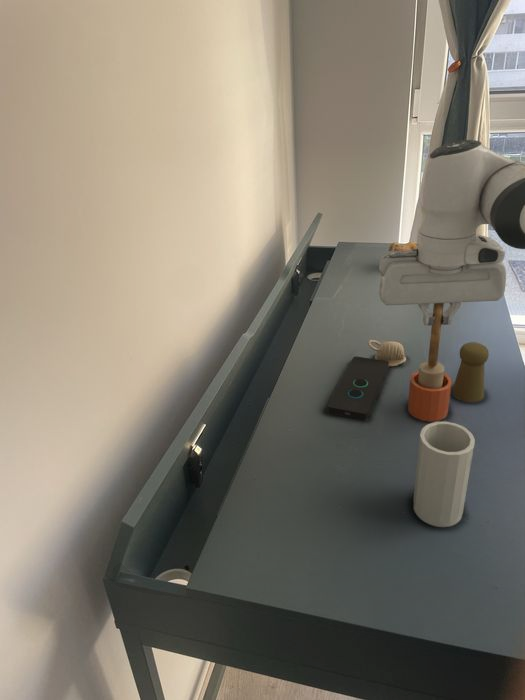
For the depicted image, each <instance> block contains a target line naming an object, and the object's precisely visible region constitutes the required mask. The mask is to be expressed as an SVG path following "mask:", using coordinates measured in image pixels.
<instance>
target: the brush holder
mask: <svg viewBox="0 0 525 700" xmlns="http://www.w3.org/2000/svg"><path fill="white" fill-rule="evenodd" d="M418 378H419V370H416V371H414V372H413V373H412V374H411V375H410V377H409V385H408V386H409V388H408V400H407V410H408V412H409V414H410V415H411V416H412V417H413V418H415V419H417V420H419V421H423V422H431V423H433V422H440V421H442V420H444V419H445V418H446V417H447V416H448V414H449V409H450V401H451V394H452V388H453V387H452V386H453V379H452V378H451V376H450V375H448V374H447V373H446V372H444V377H443V385H442V388H439V389H428V388H424V387H422V386H419V385H418Z"/></svg>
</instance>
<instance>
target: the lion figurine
mask: <svg viewBox="0 0 525 700" xmlns="http://www.w3.org/2000/svg"><path fill="white" fill-rule="evenodd" d="M413 249H417V243H416V242H414V241H411V242H407V243H405V244H403V245H402V244H401V243H399V242H398V241H395V242H392V243H391V244H390V245H389V246H388V253H389V252H390V251H395V250H397V251H404V250H413Z"/></svg>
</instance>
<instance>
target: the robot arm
mask: <svg viewBox="0 0 525 700" xmlns="http://www.w3.org/2000/svg"><path fill="white" fill-rule="evenodd" d="M424 167H425V168H424V171H423V178H422V183H421V190H420V191H421V192H420V210H421V218H420V222H419V225H418V229H417V242H416V245H417V249H413V250H404V251H397V250H395V251H390V252H389V251H388V253H385V254H384V255H382V257H381V258H380V260H379V267H378V269H379V274H380V275H381V278H380V282H379V290H378V295H379V298H380V301H381V302H382V303H383V304H384V305H385V306H406V305H407V306H408V305H418V307H419V309H420V311H421V313H422V314H423V318H422V322H423V325H424V327H425V326H432V325H434V322H433V321H434V315H433V312H428V311H427V310H428V309H429V308H430V305H432V304H434V303H444V304H449V306H448V307H447V309H446V310H445V311H443V315H442V323H441V326H444V325H445V326H447V325H452V321H453V317H454V315H455V314H456V313H457V312H458V311H459V309H460V308H461V303H476V302H477V303H478V302H497V301H499V300H500V299H502V298H503V297H504V295H505V293H506V285H507V269H506V266H505V265H504V263H503V261H504V259H505V256H506V251H505V249H504V248H503V247H502V246H501V244H500V243H498V242H497V241H496V240H494V239H493V238H491V237H489V236H485V235H481V234H478V233H477V229H478V227H479V226H481V225H490V226H491V227H492V229H493V230H494V232H495V233H496V235H497V236H498V237H499V239H500V240H501V241H502V242H503V243H504V244H506V245H507V246H508V247H512V248H513V249H518V250H525V162H524V161H521V160H517V159H513V158H509V157H506V156H504V155H501V154H499V153H497V152H495V151H493V150H491V149H490V148H489V147H487V146H485V145H484V144H483V143H482V142H481V141H479V140H475V139H465V140H461V139H460V140H455V141H451V142H447V143H445V144H442V145H440V146H438V147H437V148H435V149H434V150H433V151H431V152H430V154H429V156H428V158H427V161H426V164H425V166H424Z"/></svg>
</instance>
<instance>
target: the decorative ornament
mask: <svg viewBox="0 0 525 700" xmlns="http://www.w3.org/2000/svg"><path fill="white" fill-rule="evenodd" d="M371 343H374V344H376V345H377V347H375V346H373V345H372V344H371ZM367 344H368V346H369V348H370V349H372V350H373V351H376V354H375V356H374V359H377V360H383V361H388V362H389V367H397V366H400V365H402V364H404V363H406V361H407V357H406V355H405V348H404V346H403V345H402V344H401V343H400V342H397V341H390V340H389V341H388V340H387V341H383V342H381V343H380V342H379V341H378V340H375V339H369V340H368V341H367Z"/></svg>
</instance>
